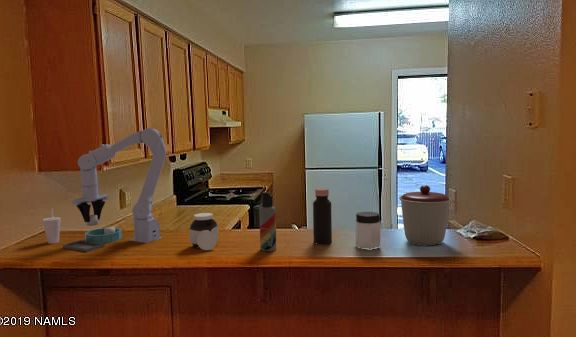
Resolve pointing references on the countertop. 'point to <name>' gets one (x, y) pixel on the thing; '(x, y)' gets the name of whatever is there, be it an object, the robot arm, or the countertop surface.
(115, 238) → the bowl
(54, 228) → the smoothie
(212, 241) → the spread jar
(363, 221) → the jar
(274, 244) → the lotion bottle
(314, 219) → the vinegar
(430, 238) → the canister
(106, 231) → the pale stone
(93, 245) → the parts tray
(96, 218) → the white pebble
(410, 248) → the countertop surface
